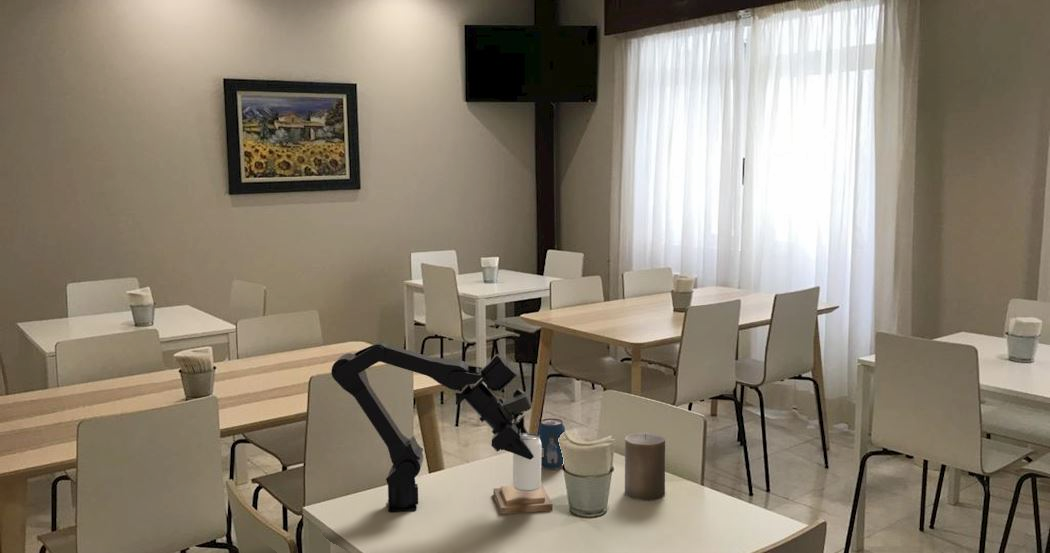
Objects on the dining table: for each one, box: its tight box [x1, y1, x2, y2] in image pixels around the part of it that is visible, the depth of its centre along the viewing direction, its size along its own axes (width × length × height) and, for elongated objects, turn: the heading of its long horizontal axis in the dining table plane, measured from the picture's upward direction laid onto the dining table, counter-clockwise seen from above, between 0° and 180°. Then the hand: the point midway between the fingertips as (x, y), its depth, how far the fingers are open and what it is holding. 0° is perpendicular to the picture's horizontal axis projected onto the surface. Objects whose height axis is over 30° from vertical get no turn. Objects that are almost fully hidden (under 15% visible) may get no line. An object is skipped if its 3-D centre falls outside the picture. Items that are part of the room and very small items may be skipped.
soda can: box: [538, 418, 566, 470], centre depth 226 cm, size 7×7×12 cm
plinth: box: [493, 484, 554, 515], centre depth 202 cm, size 12×12×2 cm
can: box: [512, 432, 542, 491], centre depth 198 cm, size 6×6×12 cm
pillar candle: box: [624, 432, 666, 501], centre depth 207 cm, size 10×10×15 cm
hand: (533, 453), depth 198 cm, fingers closed on can, 6 cm apart
